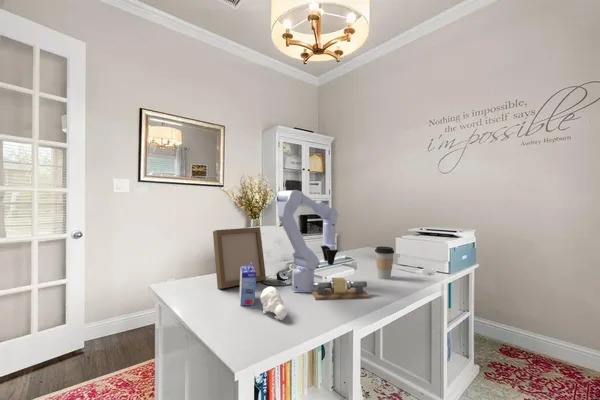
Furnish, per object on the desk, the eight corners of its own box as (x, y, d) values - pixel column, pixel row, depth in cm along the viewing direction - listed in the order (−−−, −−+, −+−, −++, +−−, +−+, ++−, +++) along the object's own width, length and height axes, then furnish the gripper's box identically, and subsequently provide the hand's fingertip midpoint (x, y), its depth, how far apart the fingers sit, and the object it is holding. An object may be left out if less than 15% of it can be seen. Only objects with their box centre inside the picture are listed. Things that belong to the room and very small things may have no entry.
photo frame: (266, 281, 129) (266, 228, 129) (221, 290, 115) (221, 231, 115) (250, 274, 140) (250, 225, 140) (208, 282, 126) (208, 228, 126)
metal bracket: (285, 262, 144) (306, 268, 133) (287, 272, 145) (308, 278, 134) (264, 275, 134) (285, 282, 123) (267, 286, 135) (288, 293, 124)
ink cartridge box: (256, 305, 100) (256, 265, 100) (240, 306, 99) (241, 266, 99) (253, 295, 110) (253, 259, 110) (239, 297, 108) (239, 260, 108)
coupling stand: (315, 299, 106) (315, 284, 106) (311, 292, 115) (311, 278, 115) (370, 297, 109) (370, 283, 109) (361, 290, 118) (362, 276, 118)
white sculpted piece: (275, 283, 98) (293, 296, 88) (274, 306, 99) (292, 322, 89) (259, 286, 94) (276, 300, 85) (258, 310, 95) (275, 327, 85)
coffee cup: (396, 277, 139) (396, 247, 139) (391, 281, 131) (391, 250, 131) (377, 274, 144) (377, 245, 144) (371, 278, 136) (372, 248, 136)
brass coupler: (343, 290, 114) (343, 277, 114) (345, 293, 110) (345, 280, 110) (331, 291, 113) (331, 277, 113) (333, 294, 110) (334, 280, 110)
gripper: (341, 235, 121) (341, 266, 121) (333, 231, 135) (333, 259, 135) (326, 235, 120) (325, 266, 120) (319, 231, 134) (319, 259, 134)
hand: (328, 262), depth 128 cm, fingers open, 7 cm apart
